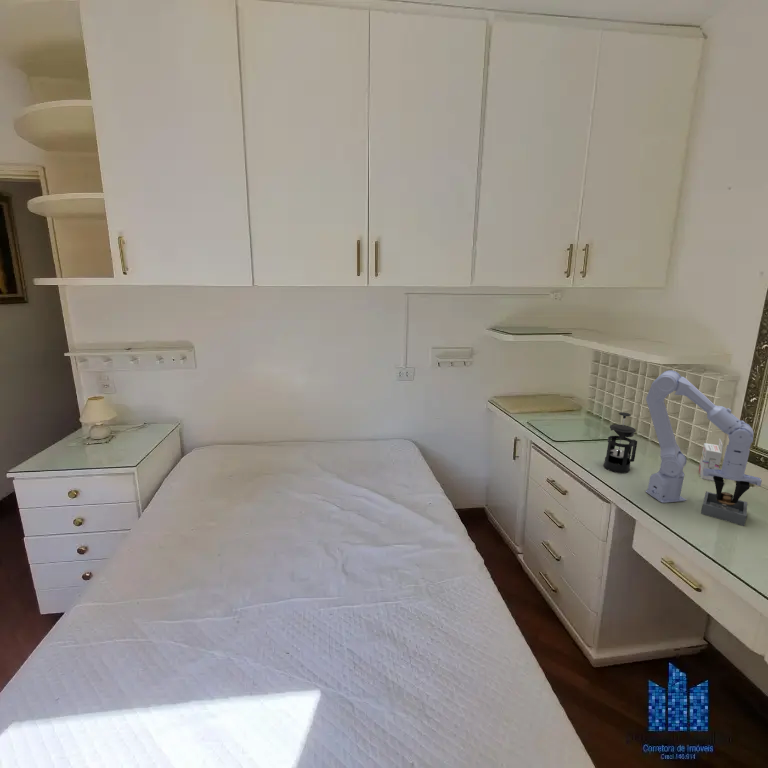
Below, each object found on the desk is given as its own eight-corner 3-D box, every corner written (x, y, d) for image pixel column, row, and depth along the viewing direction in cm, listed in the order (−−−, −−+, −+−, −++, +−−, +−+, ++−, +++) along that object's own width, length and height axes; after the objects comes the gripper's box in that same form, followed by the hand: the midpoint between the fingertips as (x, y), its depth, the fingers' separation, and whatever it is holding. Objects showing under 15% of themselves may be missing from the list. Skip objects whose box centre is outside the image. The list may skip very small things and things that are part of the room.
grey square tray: (744, 526, 134) (746, 516, 133) (700, 513, 141) (702, 503, 140) (744, 511, 143) (747, 502, 142) (703, 500, 149) (705, 491, 148)
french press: (610, 473, 168) (618, 417, 162) (596, 463, 177) (604, 409, 172) (639, 472, 169) (648, 417, 163) (624, 462, 178) (633, 409, 172)
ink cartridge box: (697, 469, 172) (705, 435, 169) (713, 472, 170) (720, 437, 166) (700, 478, 165) (708, 442, 161) (716, 481, 163) (724, 445, 159)
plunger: (737, 520, 137) (741, 503, 135) (707, 512, 141) (711, 495, 140) (738, 511, 142) (742, 493, 141) (709, 503, 147) (713, 486, 145)
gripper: (760, 461, 137) (751, 499, 141) (705, 452, 144) (697, 489, 147) (767, 470, 131) (757, 510, 135) (708, 460, 138) (700, 498, 141)
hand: (726, 500), depth 141 cm, fingers closed on plunger, 4 cm apart
